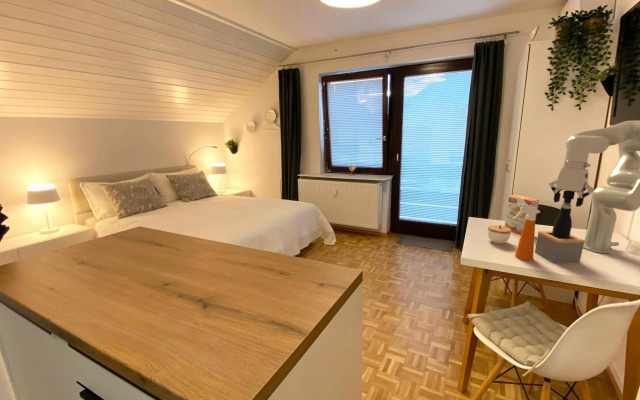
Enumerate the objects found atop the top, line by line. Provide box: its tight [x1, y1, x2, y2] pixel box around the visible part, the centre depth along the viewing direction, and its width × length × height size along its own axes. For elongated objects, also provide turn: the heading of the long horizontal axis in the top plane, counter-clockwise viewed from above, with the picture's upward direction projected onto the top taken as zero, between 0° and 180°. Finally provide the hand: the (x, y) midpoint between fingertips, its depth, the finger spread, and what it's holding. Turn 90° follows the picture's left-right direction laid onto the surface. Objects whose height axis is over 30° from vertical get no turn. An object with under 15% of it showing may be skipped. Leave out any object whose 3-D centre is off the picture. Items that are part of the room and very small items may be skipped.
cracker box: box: [504, 194, 540, 235], centre depth 172 cm, size 14×6×21 cm, turn 17°
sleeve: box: [534, 230, 585, 264], centre depth 139 cm, size 12×12×11 cm
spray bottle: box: [513, 203, 541, 261], centre depth 138 cm, size 7×11×26 cm, turn 77°
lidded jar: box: [487, 224, 512, 245], centre depth 159 cm, size 11×11×9 cm
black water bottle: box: [551, 190, 576, 239], centre depth 137 cm, size 6×6×30 cm
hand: (567, 203), depth 134 cm, fingers open, 8 cm apart
